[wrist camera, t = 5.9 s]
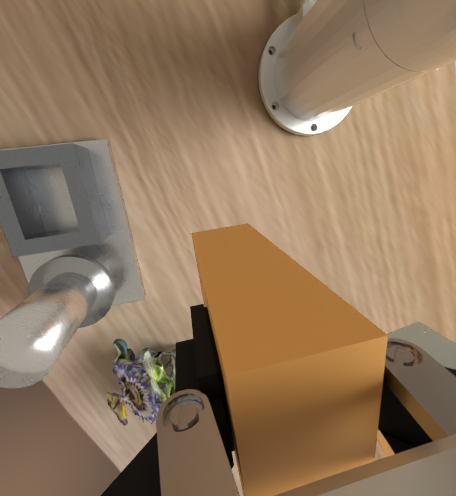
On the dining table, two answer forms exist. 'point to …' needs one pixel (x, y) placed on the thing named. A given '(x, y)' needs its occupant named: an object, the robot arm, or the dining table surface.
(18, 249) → the gray socket post fixture
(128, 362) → the passion flower
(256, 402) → the tan rectangular block
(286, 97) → the robot arm
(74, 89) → the dining table surface
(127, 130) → the dining table surface
